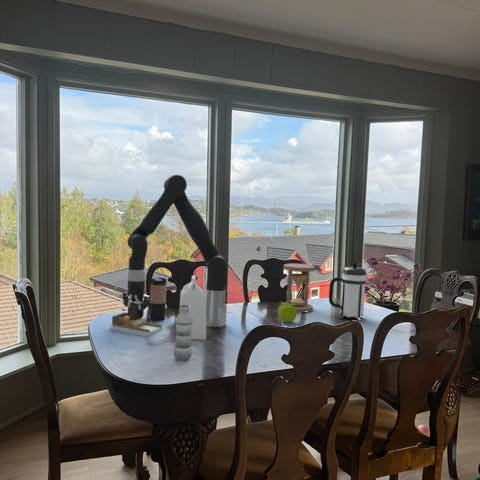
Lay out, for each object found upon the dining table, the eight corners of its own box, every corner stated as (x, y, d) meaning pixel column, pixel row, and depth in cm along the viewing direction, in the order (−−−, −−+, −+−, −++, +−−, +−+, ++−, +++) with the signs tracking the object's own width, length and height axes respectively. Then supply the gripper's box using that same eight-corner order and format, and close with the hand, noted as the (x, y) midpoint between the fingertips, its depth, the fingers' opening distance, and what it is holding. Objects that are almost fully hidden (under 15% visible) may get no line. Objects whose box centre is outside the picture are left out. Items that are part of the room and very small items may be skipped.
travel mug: (162, 321, 223) (163, 280, 221) (147, 320, 224) (148, 279, 223) (167, 318, 230) (168, 278, 229) (153, 316, 232) (154, 277, 230)
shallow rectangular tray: (163, 330, 209) (163, 324, 209) (147, 336, 198) (147, 330, 198) (127, 323, 218) (127, 318, 217) (110, 329, 207) (110, 323, 207)
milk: (206, 339, 198) (208, 279, 196) (178, 339, 196) (180, 278, 194) (203, 331, 210) (205, 274, 208) (178, 331, 208) (179, 274, 206)
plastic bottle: (174, 356, 175) (175, 304, 173) (192, 356, 176) (193, 304, 174) (173, 362, 169) (174, 308, 167) (191, 362, 169) (193, 308, 168)
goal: (134, 322, 214) (134, 314, 214) (122, 326, 206) (122, 317, 206) (124, 320, 216) (124, 312, 216) (112, 324, 208) (112, 316, 208)
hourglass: (302, 305, 274) (304, 263, 272) (318, 311, 258) (321, 267, 256) (276, 306, 267) (278, 263, 265) (291, 313, 251) (293, 268, 249)
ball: (127, 313, 212) (125, 321, 213) (121, 315, 209) (119, 323, 210) (134, 317, 211) (132, 324, 212) (128, 318, 207) (126, 326, 208)
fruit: (279, 319, 238) (280, 300, 237) (297, 320, 236) (298, 301, 235) (276, 323, 229) (277, 303, 228) (295, 325, 227) (296, 305, 226)
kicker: (144, 324, 210) (145, 302, 210) (134, 328, 204) (135, 305, 203) (135, 322, 212) (136, 301, 212) (125, 326, 206) (126, 304, 205)
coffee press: (354, 313, 258) (358, 260, 255) (371, 321, 243) (375, 264, 240) (327, 314, 252) (330, 260, 250) (342, 322, 237) (346, 264, 235)
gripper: (154, 279, 207) (153, 317, 208) (128, 276, 213) (128, 312, 214) (144, 282, 200) (143, 320, 202) (118, 278, 206) (117, 316, 208)
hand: (135, 316), depth 208 cm, fingers open, 5 cm apart
